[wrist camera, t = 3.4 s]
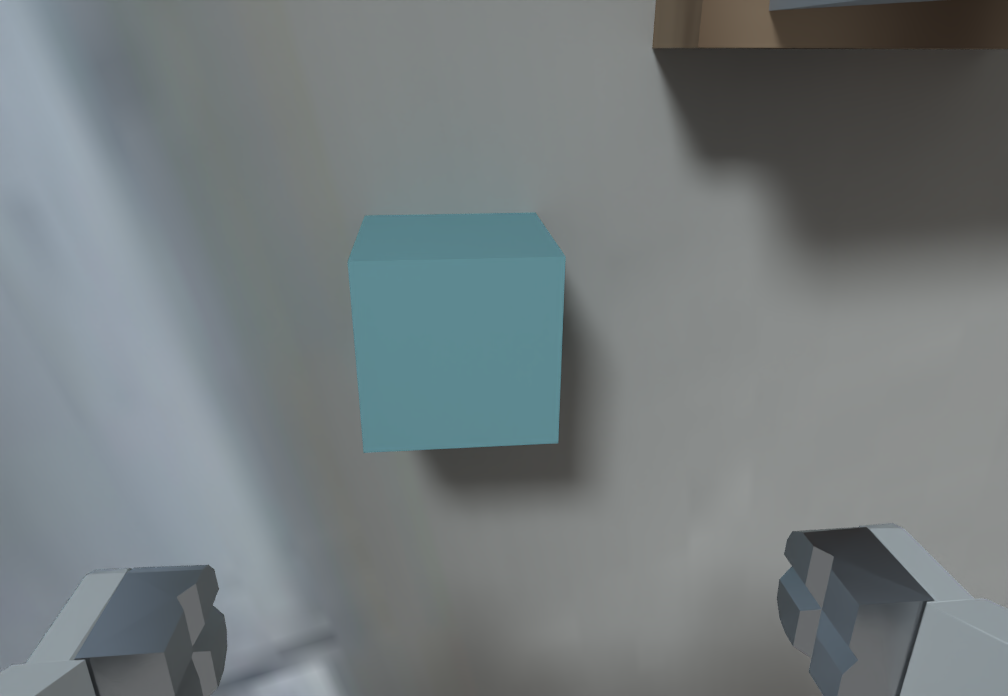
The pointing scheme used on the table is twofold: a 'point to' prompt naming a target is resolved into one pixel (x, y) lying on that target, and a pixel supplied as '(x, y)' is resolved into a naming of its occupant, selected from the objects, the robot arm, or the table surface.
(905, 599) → the robot arm
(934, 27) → the walnut base block
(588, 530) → the table surface
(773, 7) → the grey top block
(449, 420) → the teal cube
